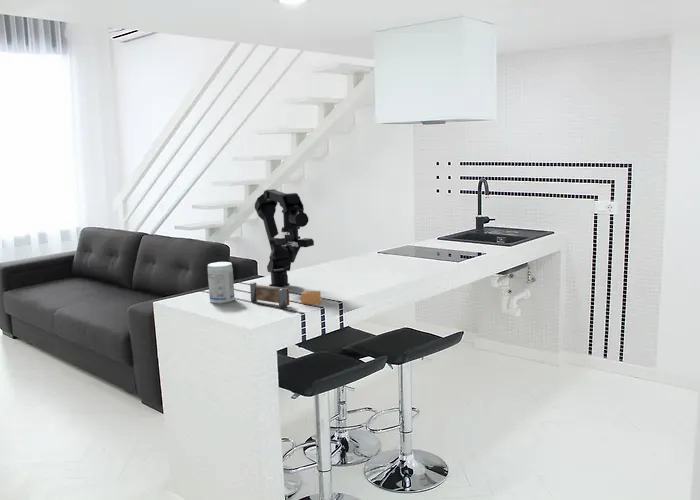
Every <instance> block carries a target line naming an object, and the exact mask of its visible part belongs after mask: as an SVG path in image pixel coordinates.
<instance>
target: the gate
mask: <svg viewBox="0 0 700 500" xmlns="http://www.w3.org/2000/svg"><path fill="white" fill-rule="evenodd" d="M282 288H284V289H286V290H287V307H288V306H290V288H289V287H274V286H269V285H263V284H256V299H257V301H261V302H269V303H276V304H279V295H278V289H282Z"/></svg>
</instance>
